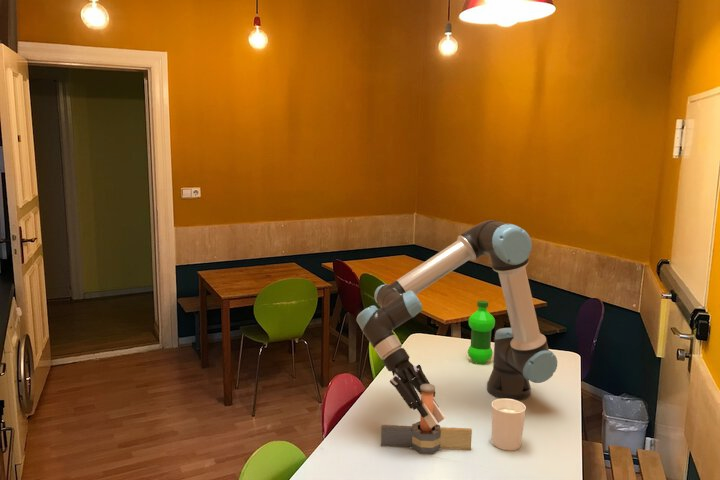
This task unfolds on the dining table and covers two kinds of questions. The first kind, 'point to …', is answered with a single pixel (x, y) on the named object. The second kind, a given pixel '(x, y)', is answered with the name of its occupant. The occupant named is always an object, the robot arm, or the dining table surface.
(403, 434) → the hinge
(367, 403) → the dining table surface
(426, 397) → the hinge pin
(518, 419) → the candle holder
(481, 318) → the plastic bottle
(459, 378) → the dining table surface
